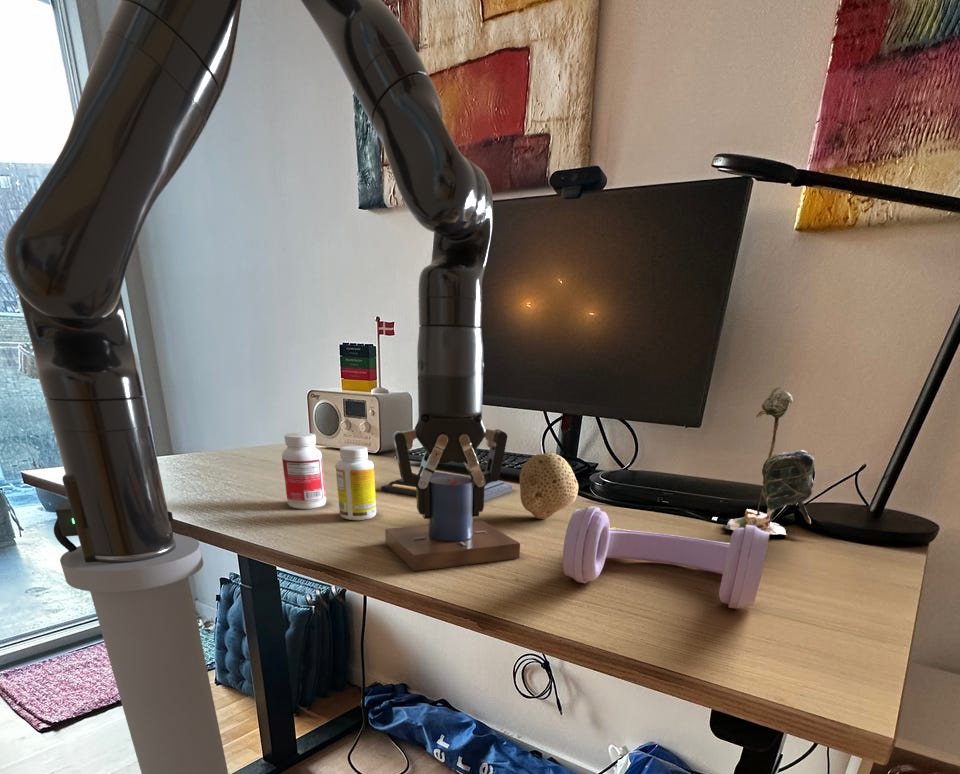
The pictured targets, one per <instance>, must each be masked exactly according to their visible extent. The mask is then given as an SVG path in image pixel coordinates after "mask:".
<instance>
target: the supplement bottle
mask: <svg viewBox="0 0 960 774" xmlns="http://www.w3.org/2000/svg"><path fill="white" fill-rule="evenodd" d="M339 456H340V460H338V461H337V462H336V463H335V475H336V487H337V498H338V507H339V508H338V509H339V510H338V511H339V515H340V516H341V518H343V519H346V520H350V521H364V520H369V519H372V518H374V517H376V515H377V499H376V498H377V497H376V483H375V467H374V463H373V461H371V460H369V458H368V457H369V454H368V447H366V446H362V445H347V446H341V447H340V448H339Z"/></svg>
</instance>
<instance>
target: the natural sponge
mask: <svg viewBox="0 0 960 774" xmlns="http://www.w3.org/2000/svg"><path fill="white" fill-rule="evenodd" d="M519 490H520V491H519V493H520V501H521V504H522V506H523V508H524V509H525V510H526V511H527V512H529V513H530V514H531V515H532V516H534V517H535V518H536V519H539V520H545V519H549V518H551V517H552V516H554V515H555V514H556V513H557V512H559V511H561V510H564V509H565V508H567V507H569V506H570V505H572V504H573V503H574V502H575V501H576V499H577V497H578V492H579V482H578V480H577V478H576V476H575V473H574V471H573V469H572V467H571V465H570V464H569V462H568V461H567V460H566V459H565V458H563V457H562V456H561V455H559V454H558V453H555V452H545V453H537V454H535V455H532V457H530V458H529V459H527V460H526V462H525V463H524V464H523V465H522V467H521V469H520V472H519Z"/></svg>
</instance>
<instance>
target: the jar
mask: <svg viewBox="0 0 960 774" xmlns="http://www.w3.org/2000/svg"><path fill="white" fill-rule="evenodd" d="M428 488H429V489H430V519H428V525H429V536H430V537H431V538H432V539H435V540H439V541H449V542H454V541H463V540H467V539H470V538H471V537H472V531H473V521H474V517H473V480H472V479H470V478H466V477H460V476H439V477H433V478H431V479H430V481H429V484H428Z"/></svg>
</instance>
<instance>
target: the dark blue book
mask: <svg viewBox="0 0 960 774" xmlns="http://www.w3.org/2000/svg"><path fill="white" fill-rule="evenodd" d="M439 476H460V477H466V478H470V479H471V477H470V475H462V474H455V473H447V472H439V471H434V473H433V474H432V477H431V478H433V477H439ZM380 489H381V491H382V492H388V493H394V494H400V495H407V496H412V497H417V494H416V487H415V486H413V485H411V484H405V483H404V481H403V479H402V478H398V479H395V480H392V481H391V482H389V483H388V484H384V485H381V486H380ZM510 492H513V485H511V484H508V483H506V482H503V481H502V480H498V481H496V482H494V481H493V482H490V483H488V484H487V485H486V486H485V488H484V502H486V501H488V500H491V499H494V498H497V497H499V496H502V495H506V494H508V493H510Z"/></svg>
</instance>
